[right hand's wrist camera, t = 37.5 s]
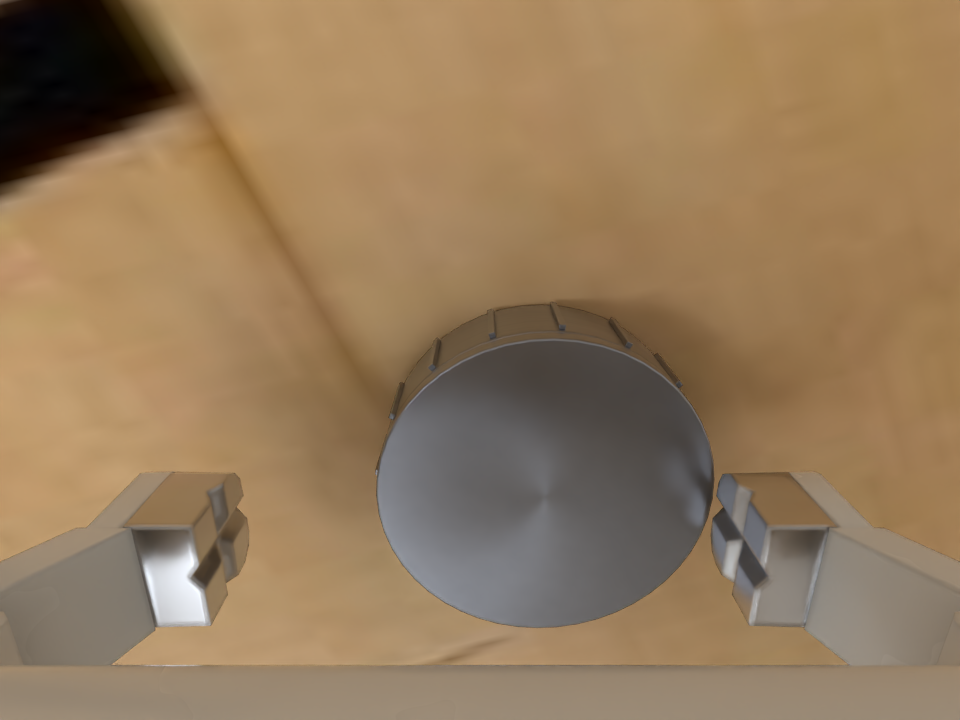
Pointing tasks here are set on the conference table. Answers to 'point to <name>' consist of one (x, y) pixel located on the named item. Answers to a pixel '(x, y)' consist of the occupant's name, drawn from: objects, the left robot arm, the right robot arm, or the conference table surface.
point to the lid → (542, 468)
